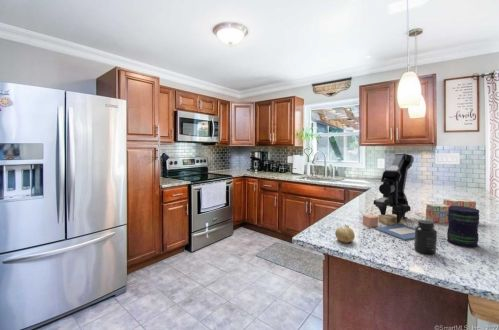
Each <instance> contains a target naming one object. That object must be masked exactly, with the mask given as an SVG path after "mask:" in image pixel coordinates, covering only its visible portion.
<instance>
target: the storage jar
mask: <svg viewBox="0 0 499 330" xmlns="http://www.w3.org/2000/svg"><path fill="white" fill-rule="evenodd" d="M448 209H449V210H448V220H449V223H447V225H448V226H447V227H448V228H447V229H446V230H447V232H446V235H447V239H446V242H447V243H449V244H451V245H453V246H456V247H460V248H466V249H476V248H478V247H479V246H478V244H479V231H478V230H479V224H480V210H479V209H477V208H476V209H474V208H469V207H461V206H449V207H448Z"/></svg>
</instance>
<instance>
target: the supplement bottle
mask: <svg viewBox="0 0 499 330" xmlns="http://www.w3.org/2000/svg"><path fill="white" fill-rule="evenodd" d="M417 225H418V226H416V227H414V228H415V239H414V242H413V243H414V251H415V252H417V253H419V254H421V255H422V254H423V255H426V256H434V255H436V254H437V237H438V232H437V231H436V229H435V226H434V225H435V223H433V222H431V221H428V220H426V219H419V220H418V223H417Z"/></svg>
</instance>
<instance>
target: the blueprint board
mask: <svg viewBox="0 0 499 330" xmlns="http://www.w3.org/2000/svg"><path fill="white" fill-rule="evenodd" d="M415 228H416V227H413V226H409V225H405V224H404V223H403V224H393V225H385V226H376V227H374V230H375V231H378V232H381V233H383V234H385V235H388V236H391V237H394V238H396V239H399V240H402V241H411V240H415Z"/></svg>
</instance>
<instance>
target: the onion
mask: <svg viewBox="0 0 499 330" xmlns="http://www.w3.org/2000/svg"><path fill="white" fill-rule="evenodd" d="M334 234H335V237H336V239H337V241H338V242H340V243H345V244H349V242H350V243H352V242H353V241H354V240H355V236H356V235H355V232H354V230H353V229H352V228H351V227H350V226H349V225H347V224H345V225H344V226H339V227H338V228H337V229H336V230H335V233H334Z"/></svg>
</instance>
